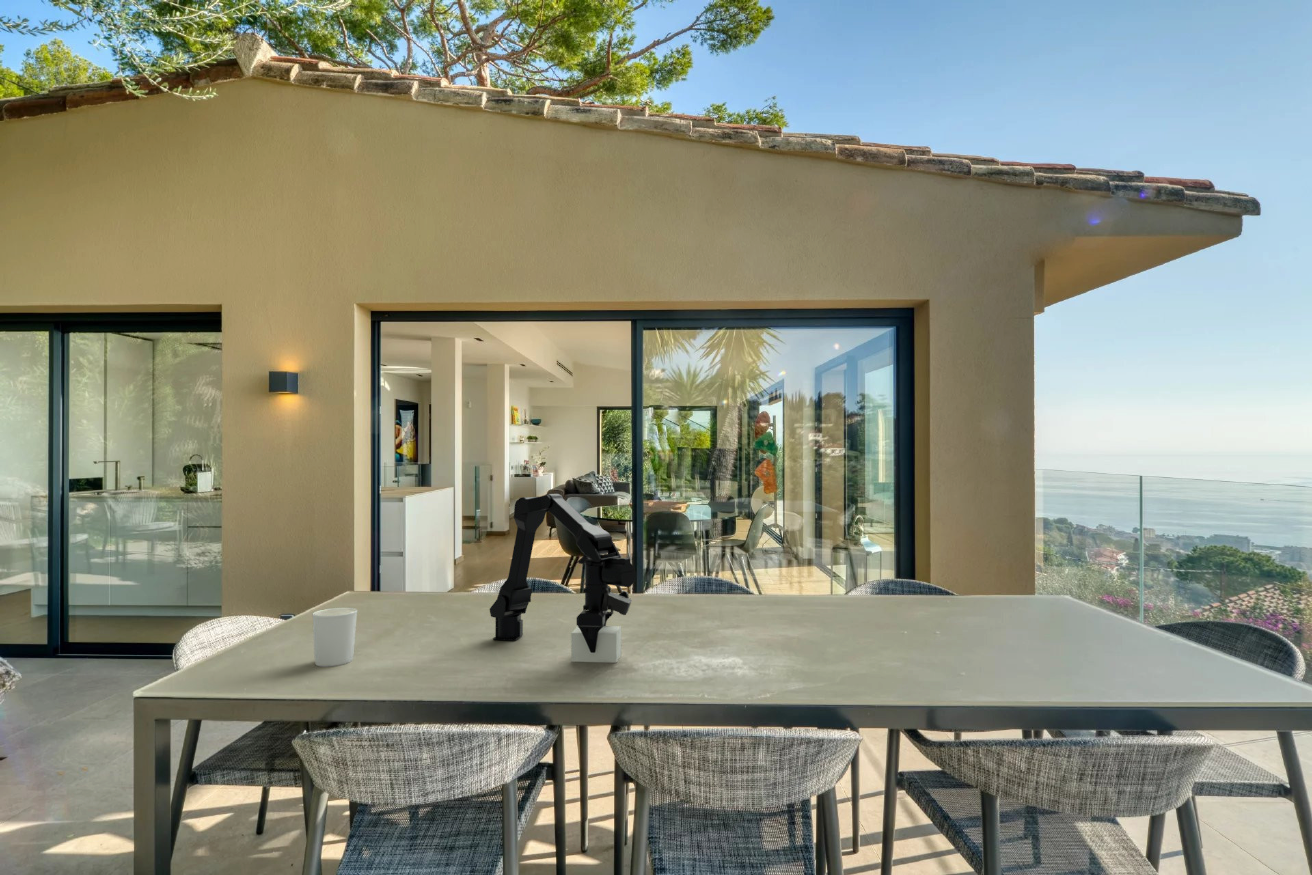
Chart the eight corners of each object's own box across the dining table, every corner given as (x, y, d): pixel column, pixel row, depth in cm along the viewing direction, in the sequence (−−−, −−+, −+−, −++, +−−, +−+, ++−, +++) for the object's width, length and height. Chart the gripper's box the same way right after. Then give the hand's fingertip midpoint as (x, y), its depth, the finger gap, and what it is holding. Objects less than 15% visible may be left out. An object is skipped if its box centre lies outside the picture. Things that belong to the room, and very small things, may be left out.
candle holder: (301, 665, 153) (302, 614, 154) (333, 654, 163) (334, 606, 163) (335, 669, 151) (336, 617, 151) (365, 657, 160) (366, 608, 161)
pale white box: (571, 661, 155) (571, 632, 156) (578, 652, 163) (578, 625, 163) (616, 662, 154) (616, 633, 155) (621, 653, 162) (621, 626, 162)
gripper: (623, 590, 149) (623, 659, 149) (633, 577, 168) (634, 638, 167) (576, 589, 151) (575, 657, 150) (591, 576, 169) (591, 637, 168)
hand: (596, 647), depth 159 cm, fingers open, 9 cm apart
